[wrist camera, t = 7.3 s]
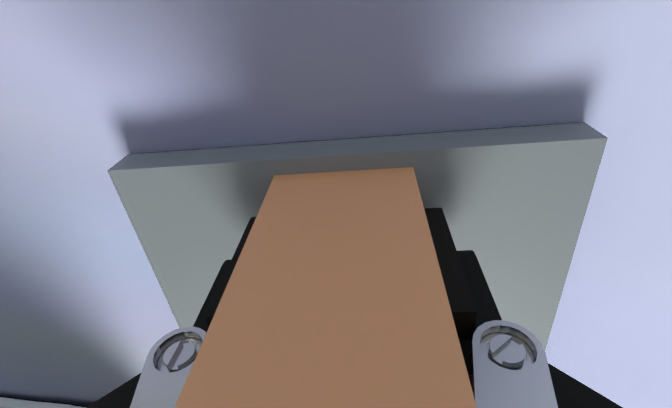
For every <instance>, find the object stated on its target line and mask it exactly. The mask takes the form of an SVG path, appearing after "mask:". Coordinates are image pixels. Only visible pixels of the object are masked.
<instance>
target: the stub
mask: <svg viewBox="0 0 672 408" xmlns="http://www.w3.org/2000/svg"><path fill="white" fill-rule="evenodd" d="M174 408H477V407H476V403H475V399H474V395H473V392H472V388H471V384H470V380H469V376H468V373H467V369H466V365H465V361H464V358H463V354H462V350H461V346H460V342H459V339H458V335H457V331H456V327H455V323H454V320H453V316H452V312H451V308H450V305H449V301H448V297H447V293H446V289H445V286H444V282H443V278H442V274H441V270H440V267H439V263H438V259H437V255H436V252H435V248H434V244H433V240H432V236H431V233H430V229H429V225H428V221H427V217H426V214H425V210H424V206H423V202H422V199H421V195H420V191H419V187H418V183H417V180H416V176H415V172H414V168H413V167H404V168H388V169H371V170H355V171H339V172H322V173H306V174H290V175H274V177H273V179H272V182H271V184H270V186H269V189H268V191H267V193H266V196H265V198H264V200H263V203H262V205H261V207H260V210H259V212H258V214H257V217H256V219H255V221H254V224H253V226H252V228H251V231H250V233H249V235H248V238H247V240H246V242H245V245H244V247H243V249H242V252H241V254H240V256H239V259H238V261H237V263H236V266H235V268H234V270H233V272H232V275H231V277H230V279H229V282H228V284H227V286H226V289H225V291H224V293H223V296H222V298H221V300H220V303H219V305H218V307H217V310H216V312H215V314H214V317H213V319H212V321H211V324H210V326H209V328H208V331H207V333H206V335H205V338H204V340H203V342H202V345H201V347H200V349H199V352H198V354H197V356H196V359H195V361H194V363H193V366H192V368H191V370H190V373H189V375H188V377H187V380H186V382H185V384H184V387H183V389H182V391H181V393H180V396H179V398H178V400H177V403H176V405H175V407H174Z"/></svg>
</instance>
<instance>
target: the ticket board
mask: <svg viewBox="0 0 672 408" xmlns="http://www.w3.org/2000/svg"><path fill="white" fill-rule="evenodd" d="M606 141H607V137H605V136H604V135H602V134H601V133H599V132H598V131H596V130H595V129H594V128H592V127H591V126H589V125H588V124H586V123H585V122H582V123H568V124H553V125H539V126H525V127H510V128H496V129H482V130H468V131H453V132H439V133H425V134H410V135H396V136H382V137H367V138H353V139H339V140H324V141H310V142H296V143H282V144H267V145H253V146H239V147H224V148H210V149H196V150H181V151H167V152H153V153H138V154H128V155H127V156H126V157H124V158H123V159H122V160H121V161H119V162H118V163H117V164H115V165H114V166H113V167H112V168H110V169H109V170H108V173H109V175H110V177H111V179H112V182H113V184H114V186H115V188H116V190H117V192H118V195H119V197H120V199H121V201H122V203H123V206H124V208H125V210H126V212H127V214H128V216H129V219H130V221H131V223H132V225H133V227H134V229H135V232H136V234H137V236H138V238H139V240H140V242H141V245H142V247H143V249H144V251H145V253H146V255H147V258H148V260H149V262H150V264H151V266H152V269H153V271H154V273H155V275H156V277H157V279H158V282H159V284H160V286H161V288H162V290H163V292H164V295H165V297H166V299H167V301H168V303H169V305H170V308H171V310H172V312H173V314H174V316H175V318H176V321H177V323H178V325H179V327H180V328H183V327H193V325H194V323H195V321H196V319H197V317H198V315H199V313H200V310H201V308H202V306H203V304H204V302H205V300H206V298H207V296H208V294H209V292H210V289H211V287H212V285H213V283H214V281H215V279H216V277H217V275H218V273H219V271H220V268H221V266H222V264H223V263H224V261H226V260H231V259H232V257H233V255H234V253H235V251H236V249H237V246H238V244H239V242H240V240H241V238H242V235H243V233H244V231H245V229H246V226H247V224H248V222H249V220H250V218H251V217H257V214H258V212H259V210H260V207H261V205H262V203H263V200H264V198H265V196H266V193H267V191H268V189H269V186H270V184H271V182H272V179H273V177H274V175H290V174H306V173H322V172H339V171H355V170H371V169H388V168H404V167H413V168H414V172H415V176H416V180H417V183H418V187H419V191H420V195H421V199H422V202H423V206H424V208H440V207H441V208H442V209H443V212H444V215H445V218H446V221H447V224H448V227H449V230H450V233H451V236H452V239H453V242H454V244H455V247H456V250H457V251H463V250H473V251H474V253H475V254H476V257H477V259H478V262H479V264H480V267H481V269H482V272H483V274H484V277H485V279H486V281H487V284H488V286H489V289H490V291H491V294H492V296H493V299H494V301H495V304H496V306H497V309H498V311H499V314H500V316H501V319H502V320H504V321H509V322H513V323H516V324H518V325H520V326H522V327H525V328H526V329H528V330H529V331H530V332H532V333H533V334H534V335H535V336H536V337H537V338H538V340H539V341H540V342H541V344H542V346H543V348H544V351H545V348H546V345H547V341H548V338H549V334H550V331H551V328H552V324H553V321H554V318H555V314H556V311H557V307H558V304H559V301H560V297H561V294H562V290H563V287H564V284H565V280H566V277H567V273H568V270H569V267H570V263H571V260H572V257H573V253H574V250H575V246H576V243H577V240H578V236H579V233H580V229H581V226H582V223H583V219H584V216H585V213H586V209H587V206H588V202H589V199H590V196H591V192H592V189H593V185H594V182H595V179H596V175H597V172H598V169H599V165H600V162H601V158H602V155H603V152H604V148H605V145H606Z"/></svg>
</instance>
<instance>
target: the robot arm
mask: <svg viewBox="0 0 672 408" xmlns="http://www.w3.org/2000/svg"><path fill="white" fill-rule="evenodd" d="M424 210H425V214H426V217H427V221H428V225H429V229H430V233H431V236H432V240H433V244H434V248H435V252H436V255H437V259H438V263H439V267H440V270H441V274H442V278H443V282H444V286H445V289H446V293H447V297H448V301H449V305H450V308H451V312H452V316H453V320H454V323H455V327H456V331H457V335H458V339H459V342H460V346H461V350H462V354H463V358H464V361H465V365H466V369H467V373H468V376H469V380H470V384H471V388H472V392H473V395H474V399H475V403H476V407H477V408H622V407H621V406H619V405H617V404H616V403H614V402H612V401H611V400H609V399H607V398H606V397H604V396H602V395H601V394H599V393H597V392H596V391H594V390H592V389H590V388H589V387H587V386H585V385H584V384H582V383H580V382H579V381H577V380H575V379H574V378H572V377H570V376H569V375H567V374H565V373H564V372H562V371H560V370H559V369H557V368H555V367H553V366H552V365H550V364H548V362H547V358H546V354H545V351H544V348H543V346H542V344H541V342H540V341H539V340H538V338H537V337H536V336H535V335H534V334H533V333H532V332H530V331H529V330H528V329H526V328H525V327H522V326H520V325H518V324H516V323H513V322H509V321H504V320H502V319H501V316H500V314H499V311H498V309H497V306H496V304H495V301H494V299H493V296H492V294H491V291H490V289H489V286H488V284H487V281H486V279H485V277H484V274H483V272H482V269H481V267H480V264H479V262H478V259H477V257H476V254H475V253H474V251H473V250H463V251H457V250H456V247H455V244H454V242H453V239H452V236H451V233H450V230H449V227H448V224H447V221H446V218H445V215H444V212H443V209H442V208H441V207H440V208H424ZM255 219H256V217H251V218H250V220H249V222H248V224H247V226H246V229H245V231H244V233H243V235H242V238H241V240H240V242H239V244H238V246H237V249H236V251H235V253H234V255H233V257H232V259H231V260H226V261H224V263H223V264H222V266H221V268H220V271H219V273H218V275H217V277H216V279H215V281H214V283H213V285H212V287H211V289H210V292H209V294H208V296H207V298H206V300H205V302H204V304H203V306H202V308H201V310H200V313H199V315H198V317H197V319H196V321H195V323H194V325H193V327H183V328H179V329H176V330H174V331H172V332H170V333H168V334H166V335H165V336H163V337H162V338H161V339H159V340H158V341H157V342H156V343H155V345H154V346H153V347H152V348H151V350H150V352H149V354H148V356H147V358H146V361H145V364H144V367H143V370H142V373H140V374H139V375H137V376H135V377H134V378H132V379H131V380H129V381H128V382H126V383H124V384H123V385H121V386H120V387H118V388H116V389H115V390H113V391H112V392H110V393H109V394H107V395H105V396H104V397H102V398H101V399H99V400H98V401H96V402H94V403H93V404H91V405H90V406H88V407H87V408H174V407H175V405H176V403H177V400H178V398H179V396H180V393H181V391H182V389H183V387H184V384H185V382H186V380H187V377H188V375H189V373H190V370H191V368H192V366H193V363H194V361H195V359H196V356H197V354H198V352H199V349H200V347H201V345H202V342H203V340H204V338H205V335H206V333H207V331H208V328H209V326H210V324H211V321H212V319H213V317H214V314H215V312H216V310H217V307H218V305H219V303H220V300H221V298H222V296H223V293H224V291H225V289H226V286H227V284H228V282H229V279H230V277H231V275H232V272H233V270H234V268H235V266H236V263H237V261H238V259H239V256H240V254H241V252H242V249H243V247H244V245H245V242H246V240H247V238H248V235H249V233H250V231H251V228H252V226H253V224H254V221H255Z"/></svg>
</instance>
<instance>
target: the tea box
mask: <svg viewBox="0 0 672 408" xmlns="http://www.w3.org/2000/svg"><path fill="white" fill-rule="evenodd" d="M0 408H87V407H79V406H73V405H67V404H57V403H48V402H37V401H28V400H20V399H12V398H4V397H0Z"/></svg>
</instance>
